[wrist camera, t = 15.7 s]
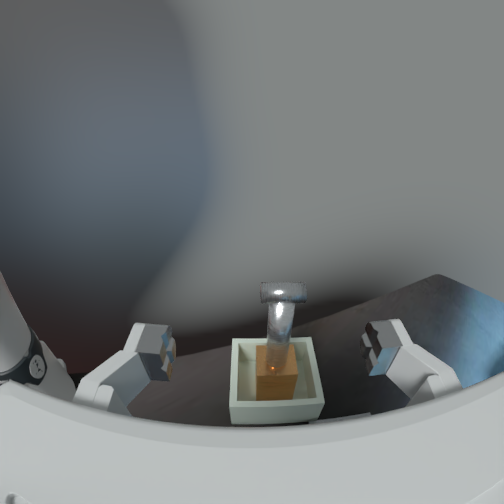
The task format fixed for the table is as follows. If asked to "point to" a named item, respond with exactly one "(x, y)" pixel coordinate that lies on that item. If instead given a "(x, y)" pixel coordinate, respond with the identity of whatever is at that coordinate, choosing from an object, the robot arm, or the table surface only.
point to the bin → (280, 411)
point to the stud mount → (339, 418)
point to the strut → (278, 342)
